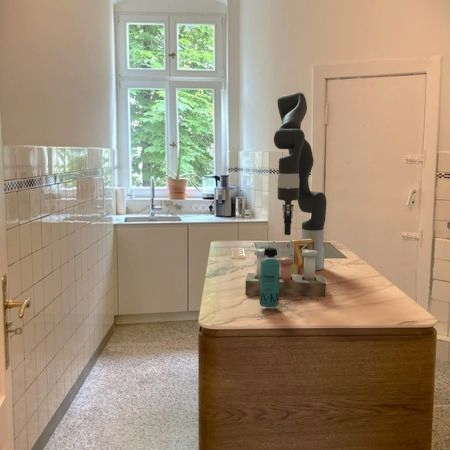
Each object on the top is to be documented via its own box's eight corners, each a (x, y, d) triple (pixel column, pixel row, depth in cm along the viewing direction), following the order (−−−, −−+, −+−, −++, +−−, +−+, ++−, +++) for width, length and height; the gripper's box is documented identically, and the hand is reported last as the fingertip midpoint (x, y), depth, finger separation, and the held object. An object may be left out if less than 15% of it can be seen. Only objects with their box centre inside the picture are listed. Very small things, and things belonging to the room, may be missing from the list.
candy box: (308, 275, 219) (309, 238, 216) (313, 277, 215) (314, 240, 212) (289, 277, 216) (289, 239, 213) (293, 279, 212) (294, 241, 209)
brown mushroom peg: (285, 284, 197) (286, 256, 196) (296, 287, 193) (296, 259, 191) (274, 286, 194) (274, 258, 193) (284, 290, 190) (285, 261, 188)
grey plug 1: (262, 276, 198) (263, 248, 196) (272, 279, 193) (273, 250, 192) (251, 278, 195) (251, 249, 193) (261, 281, 190) (261, 252, 189)
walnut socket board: (245, 294, 189) (245, 280, 189) (247, 286, 201) (247, 273, 200) (325, 297, 186) (326, 283, 186) (323, 288, 198) (323, 275, 197)
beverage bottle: (257, 306, 175) (258, 246, 172) (277, 306, 176) (278, 246, 173) (260, 312, 169) (261, 250, 166) (281, 312, 169) (282, 250, 166)
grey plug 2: (309, 277, 196) (309, 249, 194) (320, 280, 192) (321, 251, 190) (298, 279, 193) (298, 251, 191) (309, 282, 188) (310, 253, 187)
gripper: (278, 184, 195) (277, 231, 198) (277, 187, 182) (276, 237, 185) (298, 185, 194) (297, 232, 197) (299, 187, 181) (298, 238, 184)
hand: (287, 234), depth 191 cm, fingers closed
